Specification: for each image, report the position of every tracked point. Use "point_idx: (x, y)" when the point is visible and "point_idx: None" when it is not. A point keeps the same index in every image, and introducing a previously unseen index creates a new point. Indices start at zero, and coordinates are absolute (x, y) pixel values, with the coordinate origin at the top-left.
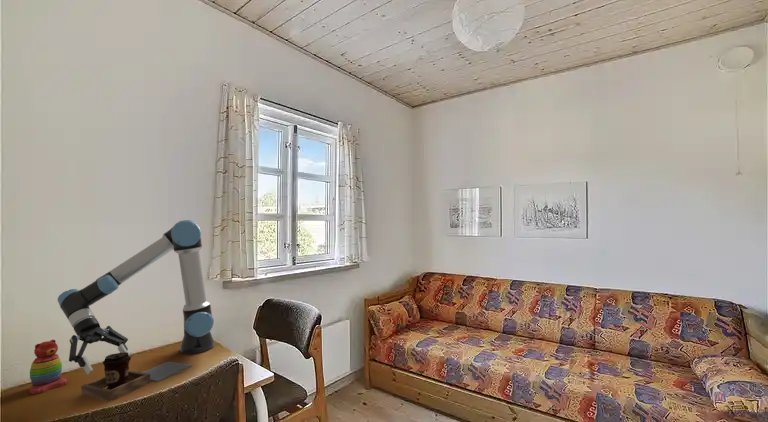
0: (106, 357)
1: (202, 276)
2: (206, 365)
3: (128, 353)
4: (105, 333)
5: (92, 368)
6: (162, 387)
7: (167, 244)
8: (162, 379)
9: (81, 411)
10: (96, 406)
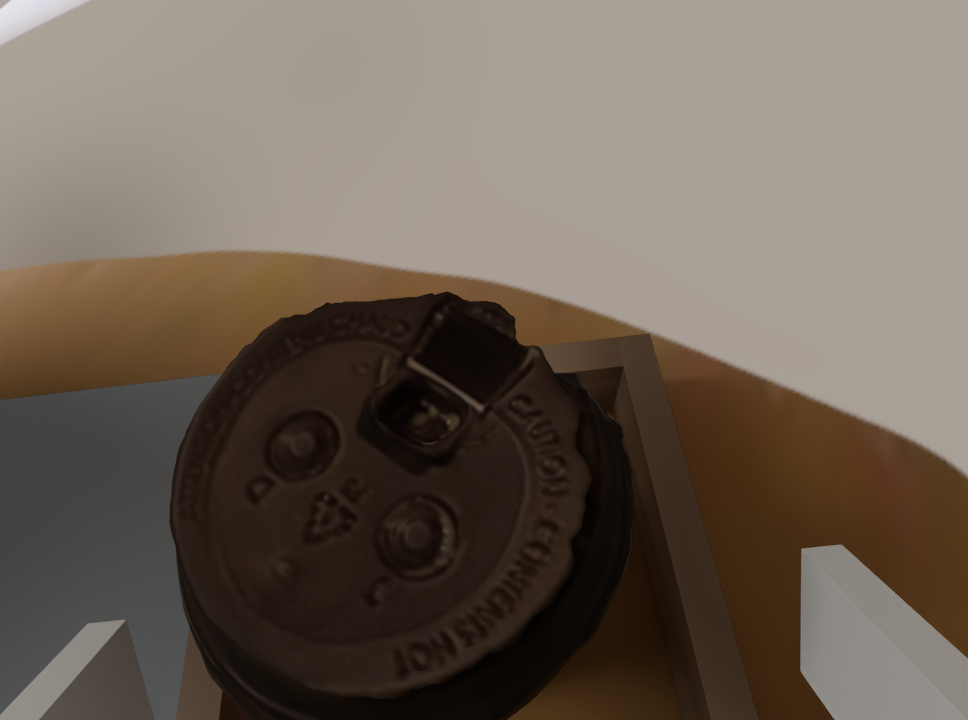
0: (562, 530)
1: None
2: None
3: (40, 676)
4: None
5: (816, 564)
6: (311, 261)
7: None
8: (187, 383)
9: (843, 412)
10: (733, 391)
